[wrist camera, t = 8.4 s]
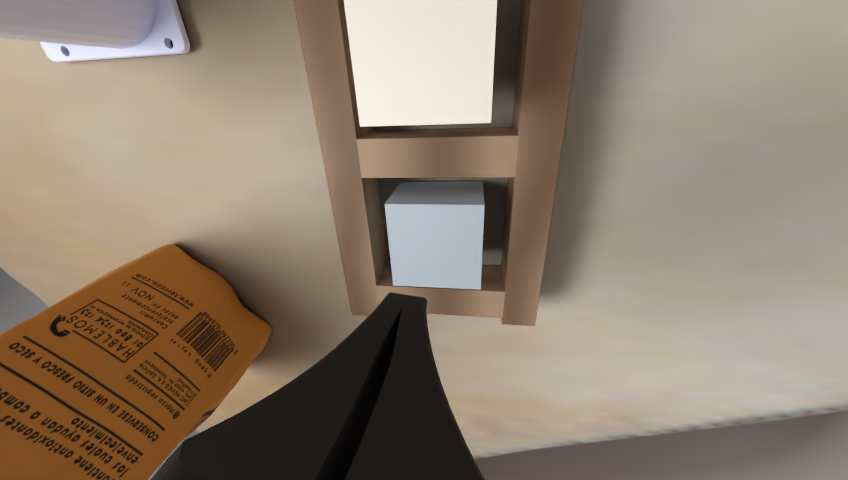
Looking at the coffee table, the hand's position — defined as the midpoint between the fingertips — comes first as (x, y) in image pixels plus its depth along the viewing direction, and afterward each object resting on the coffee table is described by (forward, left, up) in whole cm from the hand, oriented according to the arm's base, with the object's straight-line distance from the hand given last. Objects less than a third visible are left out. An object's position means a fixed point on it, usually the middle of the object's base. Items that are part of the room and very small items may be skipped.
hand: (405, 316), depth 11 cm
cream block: (0, +8, -8) cm, 12 cm away
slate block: (0, 0, -10) cm, 10 cm away
